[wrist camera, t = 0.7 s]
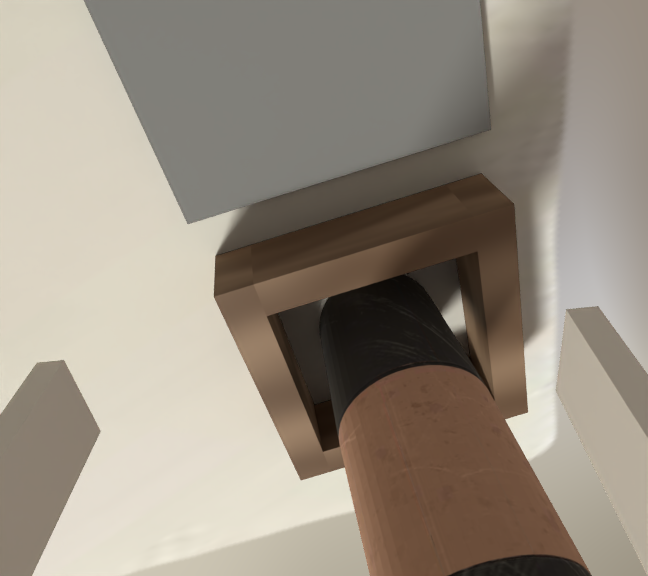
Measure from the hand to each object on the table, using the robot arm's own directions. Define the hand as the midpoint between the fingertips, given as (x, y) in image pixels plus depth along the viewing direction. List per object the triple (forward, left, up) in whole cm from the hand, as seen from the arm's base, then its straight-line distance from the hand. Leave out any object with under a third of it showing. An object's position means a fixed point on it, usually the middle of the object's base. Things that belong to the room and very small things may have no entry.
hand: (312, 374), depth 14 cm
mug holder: (+11, +3, -15) cm, 19 cm away
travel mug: (+11, +3, -16) cm, 19 cm away
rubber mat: (-7, +3, -15) cm, 17 cm away
